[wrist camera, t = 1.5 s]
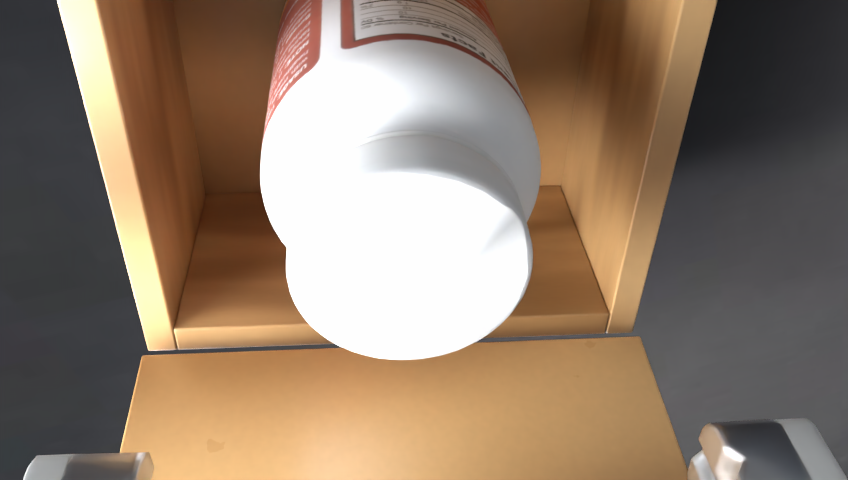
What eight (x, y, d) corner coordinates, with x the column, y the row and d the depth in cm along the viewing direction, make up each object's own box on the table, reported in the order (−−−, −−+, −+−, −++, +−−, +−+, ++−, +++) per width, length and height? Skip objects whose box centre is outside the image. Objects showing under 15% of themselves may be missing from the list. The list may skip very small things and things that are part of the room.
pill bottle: (350, 157, 26) (353, 426, 17) (236, -2, 23) (168, 235, 14) (522, 68, 25) (620, 314, 16) (429, -116, 21) (488, 69, 12)
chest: (111, -216, 20) (16, -150, 14) (642, -208, 21) (755, -143, 15) (188, 199, 28) (147, 351, 22) (575, 190, 29) (632, 333, 23)
